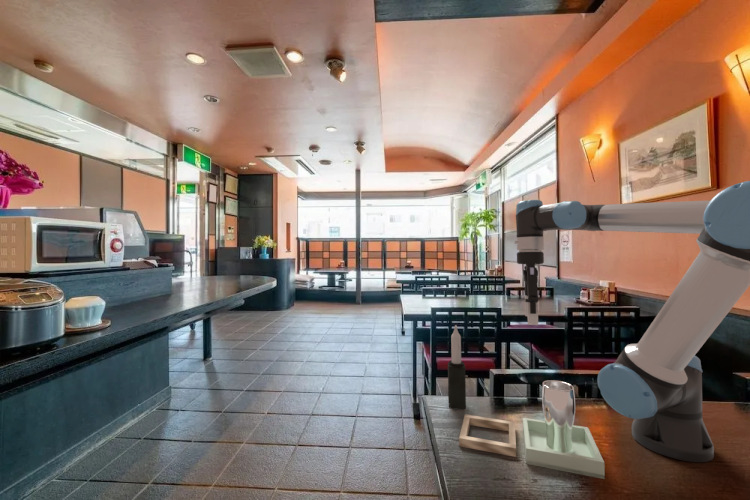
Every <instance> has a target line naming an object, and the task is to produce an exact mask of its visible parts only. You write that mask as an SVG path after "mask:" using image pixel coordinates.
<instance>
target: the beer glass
mask: <svg viewBox="0 0 750 500" xmlns="http://www.w3.org/2000/svg"><path fill="white" fill-rule="evenodd" d="M541 403H542V404H541V406H542V412H543V419H544V421H545V423H546V430H547V433H546V440H545V447H546V448H547V449H548V450H552V451H558V452H563V453H569V454H573V453H574V448H573V443H572V429H573V425H574V423H575V422H574V421H575V416H576V396H575V387H574V386H573V385H572V384H571V383H568V382H565V381H561V380H555V379H553V380H552V379H551V380H548V379H547V380H544V381H542V391H541Z"/></svg>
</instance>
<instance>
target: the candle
mask: <svg viewBox="0 0 750 500" xmlns="http://www.w3.org/2000/svg"><path fill="white" fill-rule="evenodd" d="M450 338H451V340H450V341H451V342H450V343H451V344H450V345H451V349H450V351H451V352H450V354H451V360H448V362H447V390H448V392H447V395H448V402H447V403H448V407H449V409H454V410H466V408H467V391H466V365H465V363H464V361H462V336H461V334H460V333H459V331H458V326H457V324H456V325H454V329H453V332H452V334H451V336H450Z"/></svg>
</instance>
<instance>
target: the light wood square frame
mask: <svg viewBox="0 0 750 500" xmlns="http://www.w3.org/2000/svg"><path fill="white" fill-rule="evenodd" d="M471 426H474V427H475V426H476V427H479V428H481V427H482V428H487V429H492V430H498V431H499V430H500V431H504V432H505V431H506V432H508V443H507V442H501V441H496V440H490V439H485V438H479V437H473V436H469V433H470V432H469V431H470V427H471ZM460 429H461V430H460V434H459V437H458V440H459V441H458V447H461V448H462V447H463V448H467V449H473V450H477V451H478V450H479V451H482V452H483V451H484V452H489V453H494V454H500V455H504V456H509V457H515V458H517V443H516V442H517V440H516V439H517V437H516V436H517V435H516V422H515V421H510V420H506V419H505V420H504V419H498V418H492V417H485V416H484V417H483V416H479V415H478V416H477V415H473V414H466V413H465V414H464V417H463V421H462V424H461V428H460Z"/></svg>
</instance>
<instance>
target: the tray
mask: <svg viewBox="0 0 750 500" xmlns="http://www.w3.org/2000/svg"><path fill="white" fill-rule="evenodd" d="M546 433H547V430H546V423H545V420H541V419H533V418H527V417H522V435H523V444H524V455H525V464H526V465H530V466H536V467H540V468H545V469H550V470H551V469H552V470H555V471H560V472H566V473H571V474H577V475H581V476H586V477H591V478H592V477H593V478H595V479H596V478H597V479H601V480H602V479H603V480H605V479H606V478H605V477H606V476H605V474H606V473H605V467H606V466H605V461H604V459H603V457H602V454H601V452H600V450H599V448H598V446H597V444H596V441H595V439H594V437H593V435H592V432H591V431H590V429H589V427H587V426H581V425H574V424H573V429H572V443H573V448H574V453H573V454H569V453H563V452H558V451H552V450H548V449H547V448H546V447H545V440H546Z"/></svg>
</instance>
